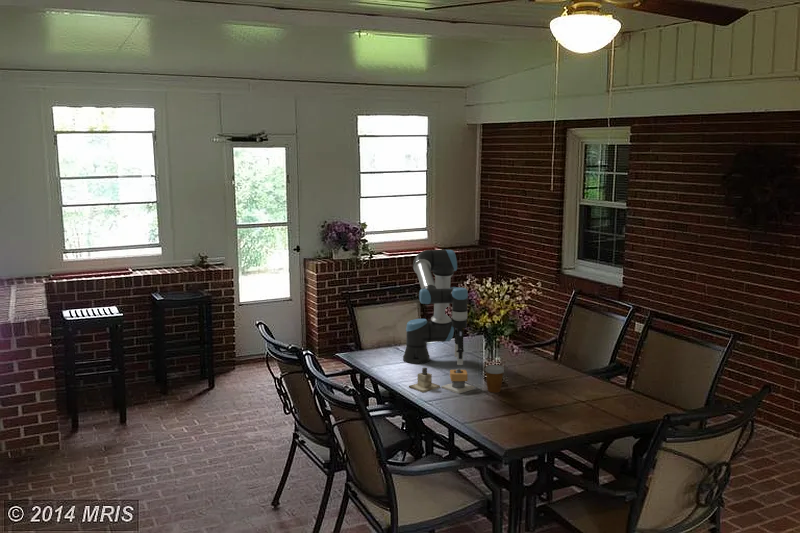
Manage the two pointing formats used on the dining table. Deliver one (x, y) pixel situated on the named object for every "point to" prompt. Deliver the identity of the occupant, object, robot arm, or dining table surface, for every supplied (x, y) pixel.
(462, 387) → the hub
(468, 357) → the dining table surface
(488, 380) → the disposable coffee cup
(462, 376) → the ring
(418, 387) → the stand
